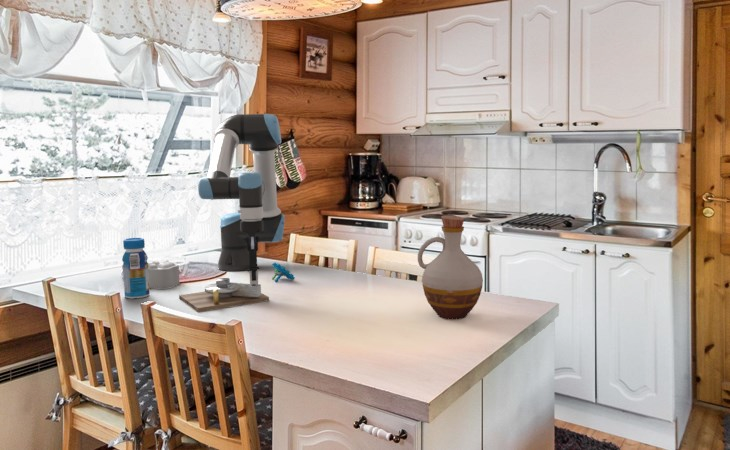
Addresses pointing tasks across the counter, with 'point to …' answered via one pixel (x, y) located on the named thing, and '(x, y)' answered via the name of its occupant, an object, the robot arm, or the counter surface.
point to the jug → (451, 274)
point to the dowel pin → (216, 297)
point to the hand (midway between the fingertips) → (254, 289)
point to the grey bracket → (234, 288)
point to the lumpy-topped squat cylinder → (163, 274)
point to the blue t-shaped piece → (281, 272)
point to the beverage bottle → (135, 269)
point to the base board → (206, 300)
